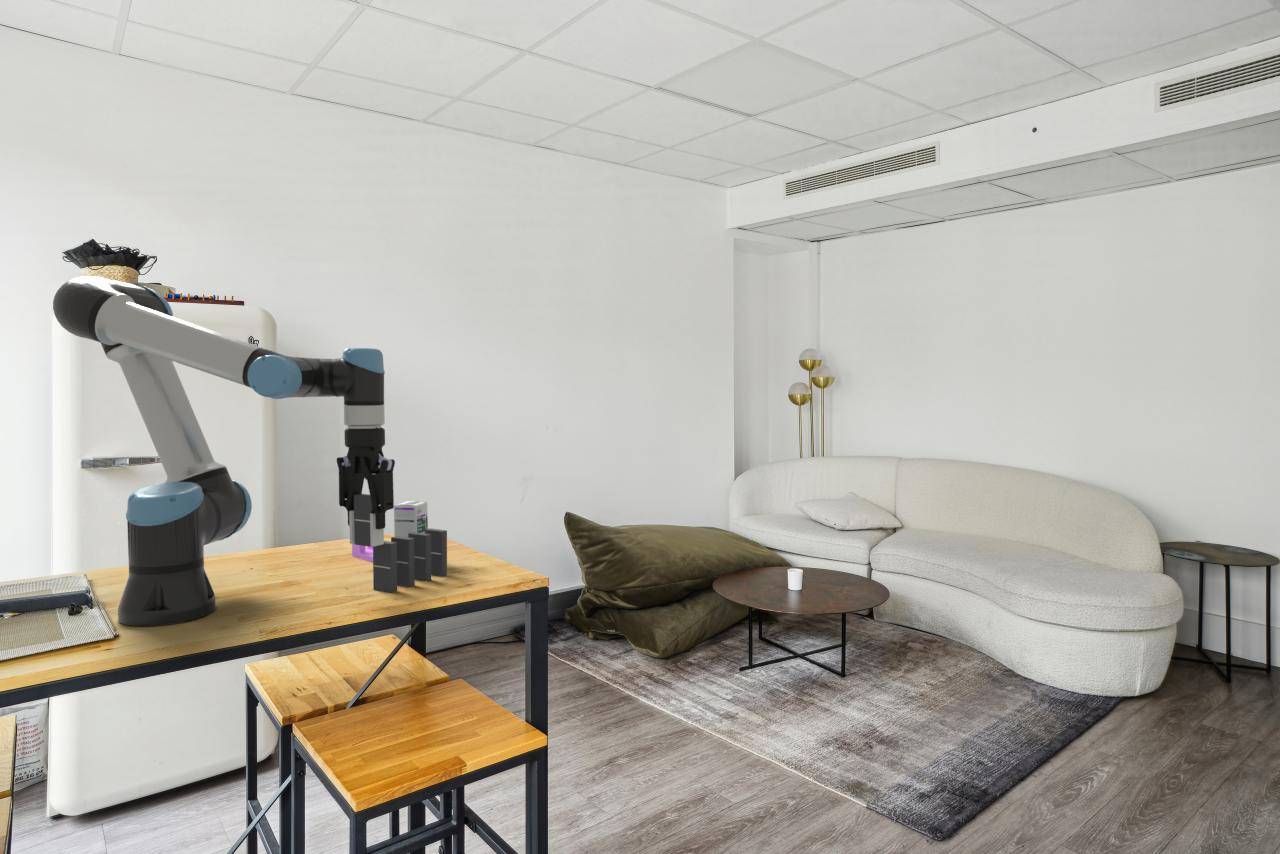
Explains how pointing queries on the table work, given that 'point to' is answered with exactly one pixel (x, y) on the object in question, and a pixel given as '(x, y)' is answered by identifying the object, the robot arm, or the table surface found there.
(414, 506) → the syrup box
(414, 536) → the domino
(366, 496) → the domino
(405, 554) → the domino
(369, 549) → the bracket
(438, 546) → the domino
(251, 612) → the table surface
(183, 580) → the robot arm
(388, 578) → the domino
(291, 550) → the table surface
